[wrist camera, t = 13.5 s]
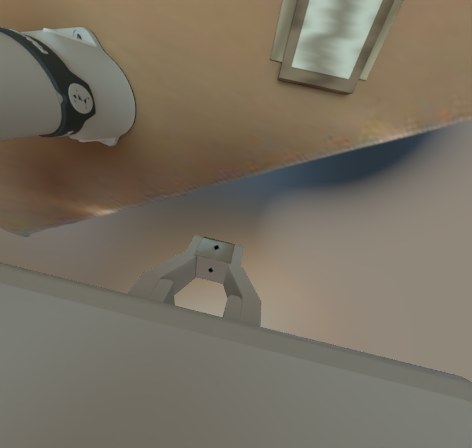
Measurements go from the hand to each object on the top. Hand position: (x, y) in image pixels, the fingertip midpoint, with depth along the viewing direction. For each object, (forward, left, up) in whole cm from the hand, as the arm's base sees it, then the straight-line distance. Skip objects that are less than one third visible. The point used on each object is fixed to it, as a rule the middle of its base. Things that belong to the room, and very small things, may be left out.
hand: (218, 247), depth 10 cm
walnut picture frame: (+8, +12, -30) cm, 33 cm away
